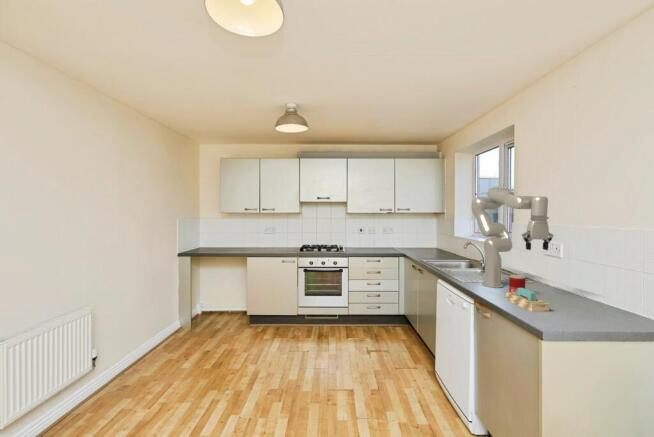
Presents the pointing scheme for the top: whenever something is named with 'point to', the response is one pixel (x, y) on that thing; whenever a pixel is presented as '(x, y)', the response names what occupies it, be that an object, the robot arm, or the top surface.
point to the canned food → (516, 283)
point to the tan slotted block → (528, 303)
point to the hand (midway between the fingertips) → (536, 249)
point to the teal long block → (526, 294)
